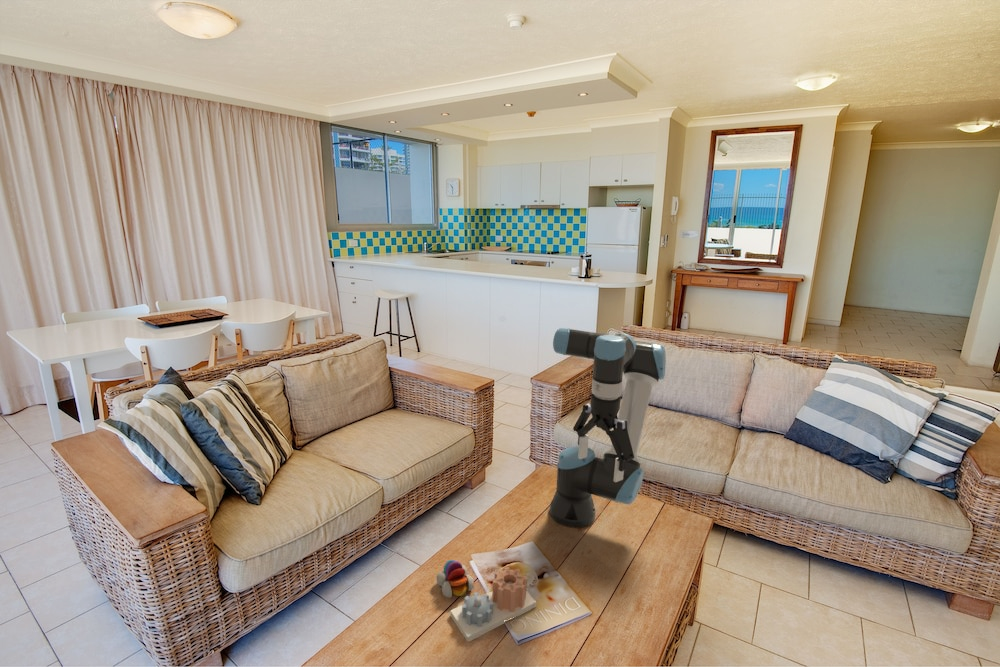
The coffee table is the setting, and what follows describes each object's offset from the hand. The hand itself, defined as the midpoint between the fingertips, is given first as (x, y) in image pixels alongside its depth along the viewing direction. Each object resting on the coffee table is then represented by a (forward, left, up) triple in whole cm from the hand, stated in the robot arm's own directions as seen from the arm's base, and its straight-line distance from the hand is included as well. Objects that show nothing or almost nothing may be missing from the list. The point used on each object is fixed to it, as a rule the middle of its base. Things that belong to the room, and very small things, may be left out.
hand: (599, 468), depth 129 cm
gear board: (-1, -32, -32) cm, 45 cm away
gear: (-1, -27, -30) cm, 41 cm away
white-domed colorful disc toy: (-14, -37, -32) cm, 51 cm away
